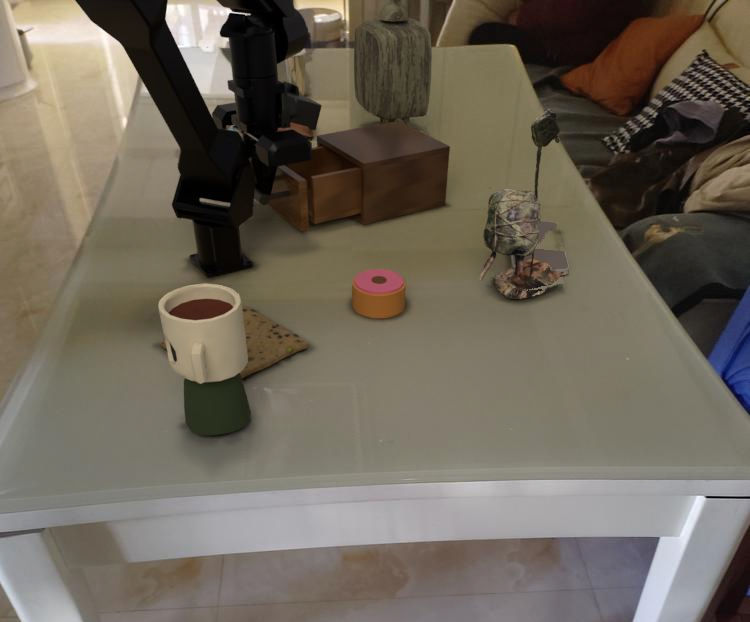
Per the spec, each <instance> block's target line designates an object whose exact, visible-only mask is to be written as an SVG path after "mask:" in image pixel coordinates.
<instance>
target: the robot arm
mask: <svg viewBox="0 0 750 622" xmlns="http://www.w3.org/2000/svg"><path fill="white" fill-rule="evenodd" d="M74 1H75V2H76V4H77V5H78V6H79V7H80V9H81V10H82V11H83V13H84V14H85V15H86V17H88V19H89V20H90V22H92V23H93V24H95V25H96V27H98V28H100V29H101V30H102V31H103V32H105V33H106V34H108V35H109V37H112V38H113V39H114V40H116V41H117V42H118V43H119V45H121V46H122V48H123V49H124V51H125V54H126V55H127V57H128V58H129V61H130V62H131V64H132V66H133V67H134V69H135V71H136V73H137V75H138V77H139V78H140V80H141V81H142V83H143V85H144V87H145V89H146V90H147V92H148V94H149V95H150V97H151V99H152V101H153V103H154V104H155V106H156V108H157V110H158V112H159V114H160V115H161V117H162V119H163V120H164V122H165V124H166V126H167V127H168V129H169V131H170V133H171V135H172V136H173V138H174V140H175V141H176V143H177V145H178V147H179V150H180V151H179V155H178V162H177V170H178V173H179V177H178V181H177V185H176V187H175V190H174V191H175V192H174V195H173V199H172V202H171V207H172V210H173V212H174V214H175V217H176V219H179V220H181V219H185V220H188V221H189V220H191V221H192V227H193V231H194V238H195V246H196V251H197V252H196V253H193V254H192V253H191V254H190V255H189V256H188V257H189V261H190V262H191V263H193V264H194V265H195V267H196V268H198V270H199V271H200V272H201V273H202V274H203V275H204V276H205V277H207V278H213V277H216V276H221V275H225V274H230V273H233V272H237V271H241V270H245V269H249V268H252V267H254V264H253V263H254V262H253V261H252V260H251V259H250V258H249V257H248V256H247V255H246V254H244V253H243V248H242V240H241V239H242V238H241V229H240V226H242V225H243V224H244V223H245V222H247V221H248V220H249V219H251V218H252V217H253V215H254V207H255V202H254V201H255V199H254V191H255V186H256V187H258V188H259V189H260V190H262V191H263V192H264V193H265V194H267V195H269V194H271V192H272V187H273V183H274V179H275V174H276V170H277V167H278V166H283V165H288V164H293V163H299V162H304V161H309V160H311V159H312V148H313V143H312V142H311V141H310V139H308V137H307V138H306V137H305V136H303V135H301V134H300V133H298V132H297V131H295V130H293V129H291V130H286V131H278V128H283V129H284V128H289V127H291V123H290V122H292V123H295V124H299V125H303V126H307V127H308V128H309V129H312V130H313V131H316V130H317V127H318V122H319V119H320V114H321V110H322V107H323V106H322V104H320V103H319V102H317V101H315V100H313V99H311V98H309V97H307V96H303V95H300V94H299V88H298V86H296V85H294V84H292V83H289V82H288V81H285V80H283V81H280V80H279V73H278V64H281V63H282V62H285V61H284V60H286V59H288V58H290V57H292V56H294V55H296V54H298V53H300V52H301V51H302V50H303V49H305V47H306V46H307V43H308V40H309V28H308V26H307V23H306V21H305V18H304V16H303V15H302V14H301V13H300V11H298V9H296V8H295V6H294V0H216V2H217V3H218V4H219V5H221V6H222V7H223V8H226V9H229V10H230V11H231V12H229V13H228V15H227V18H226V20H225V21H224V23H223V24H222V25H221V28H220V30H219V36H220V37H221V38H226V39H228V47H229V56H230V66H231V76H232V79H228V80H226V81H227V89H228V90H229V91H230V92H232V93H233V95H234V96H233V97H234V102H230V103H224V104H218V105H216V106H215V108H214V110H213V111H212V113H211V112H210V110H209V108H208V105H207V103H206V102H205V99H204V98H203V95H202V93H201V91H200V89H199V87H198V85H197V82H196V81H195V79H194V77H193V74H192V73H191V71H190V68H189V66H188V64H187V62H186V60H185V58H184V55H183V54H182V52H181V50H180V48H179V45H178V44H177V41H176V39H175V37H174V35H173V33H172V31H171V29H170V27H169V25H168V22H167V20H166V16H167V10H168V3H169V0H74ZM227 125H228V126H230V125H235V126H233V129H234V130H235V131H232V130H226V126H227ZM201 199H203V200H210V201H214V202H221V203H226V204H229V205H223V204H218V203H213V202H206V201H201Z"/></svg>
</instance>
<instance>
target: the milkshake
mask: <svg viewBox="0 0 750 622" xmlns="http://www.w3.org/2000/svg"><path fill="white" fill-rule="evenodd" d="M306 61H307V50H306V49H305V48H304V49H303V50H302V51H301V52H300V53H298V54H296V55H294V56H292V57H290V58H288V59H286V60H284V61H283V62H284V67H285V73H286V82H289V83H292V84H294V85H296V86H298V88H299V94H300V95H303V96H304V97H306V95H305V91H306V90H305V88H306Z"/></svg>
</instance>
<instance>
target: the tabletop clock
mask: <svg viewBox="0 0 750 622" xmlns="http://www.w3.org/2000/svg"><path fill="white" fill-rule="evenodd" d="M399 2H401V0H390V2H388V3H385V4H384V5H383V6H382V7H381V9H380V11H379V14H378V18H376V19H366V20H364V21H363V22H362V23H361V24H360V25H357V27H356V28H355V30H354V31H355V32H354V39H353V41H354V42H353V76H354V77H353V79H354V93H355V99H356V101H357V103H358V104H359V105H360V106H361V107H362V108H363V109H364V110H365V111H366V112H367V113H369V114H371V115H373V116H375V117H377V118H379V123H378V125H379V124H384V121H387V123H390V122H395V121H397V120H399V119H400V120H401V121H402V122H403V123H404V124H406V125H408V126H410V127H412V128H413V126H412V123H411V119H410V118H418V117H424V116H427V113H428V110H429V104H430V103H429V102H430V95H431V82H432V64H433V63H432V62H433V59H432V58H433V51H432V50H433V48H432V47H433V46H432V36H431V33H430V30H429V29H428V28H427V27H426V25H424V24H423V23H422V22H420V21H419V20H417V19H414V18H411V17H409V13H408V10H407V8H406V7H405V6H404V5H403V4H402V3H399Z"/></svg>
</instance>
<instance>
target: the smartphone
mask: <svg viewBox="0 0 750 622" xmlns="http://www.w3.org/2000/svg"><path fill="white" fill-rule="evenodd" d="M556 226H559V224H558V223H557V222H555V221H551V220H550V221H549V220H540V226H539V229H540V231H539V233H538V240H537V243H536V246H537V244H539V242H540V243H541V241H542V239H544V238H545V237H544V236H545V233H546V232H547V233H548V230H550V228H552V229H553V228H555V229H556ZM550 231H551V230H550ZM547 233H546V234H547ZM543 237H544V238H543ZM564 251H565V252H564ZM564 251H554V250H544V249H535V251H534V257H533V259H535V260H538V261H539V262H540V263H547V264H548V265H550V267H552V268H553V269H555V271H558V272H563V274H562V275H561V276H565V275H567V274H568V273H569V271H570V264H569V260H568V256H567V253H566V249H565V250H564ZM509 257H510V263H511V267H513V268H515V266H516V263H515V258H514V255H509ZM529 259H532V254H531V255H528V256H525V257H524V259H523V261H526V260H529Z"/></svg>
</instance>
